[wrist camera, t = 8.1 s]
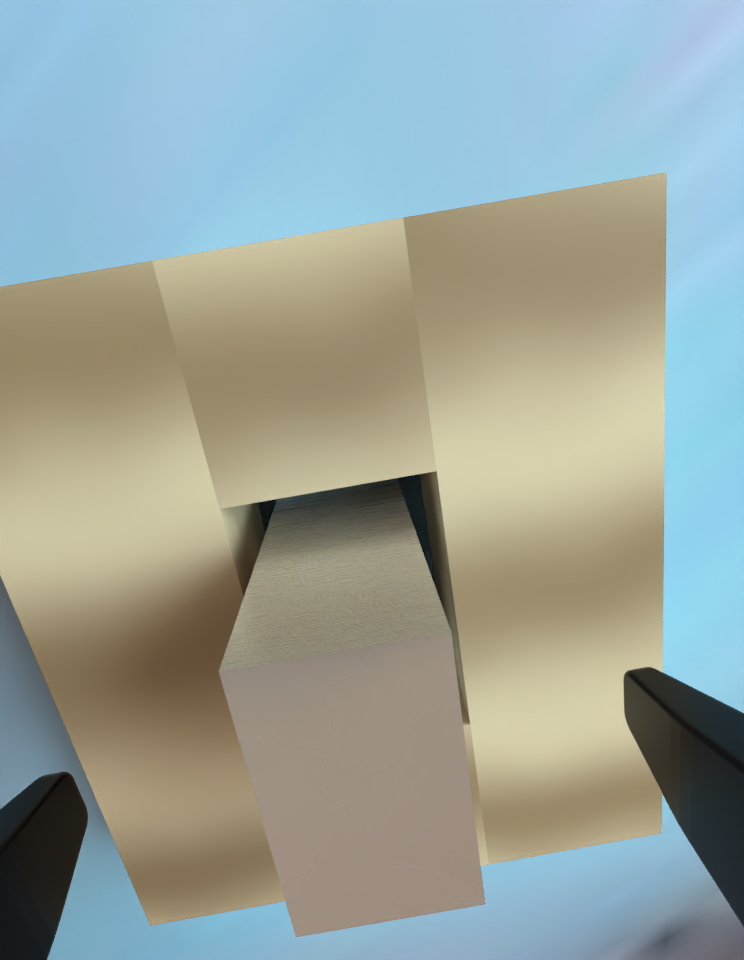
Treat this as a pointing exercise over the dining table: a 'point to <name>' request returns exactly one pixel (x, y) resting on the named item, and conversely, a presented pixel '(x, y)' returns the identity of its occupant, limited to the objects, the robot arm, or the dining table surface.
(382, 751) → the tall grey box
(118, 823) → the well block
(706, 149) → the dining table surface
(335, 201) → the dining table surface
